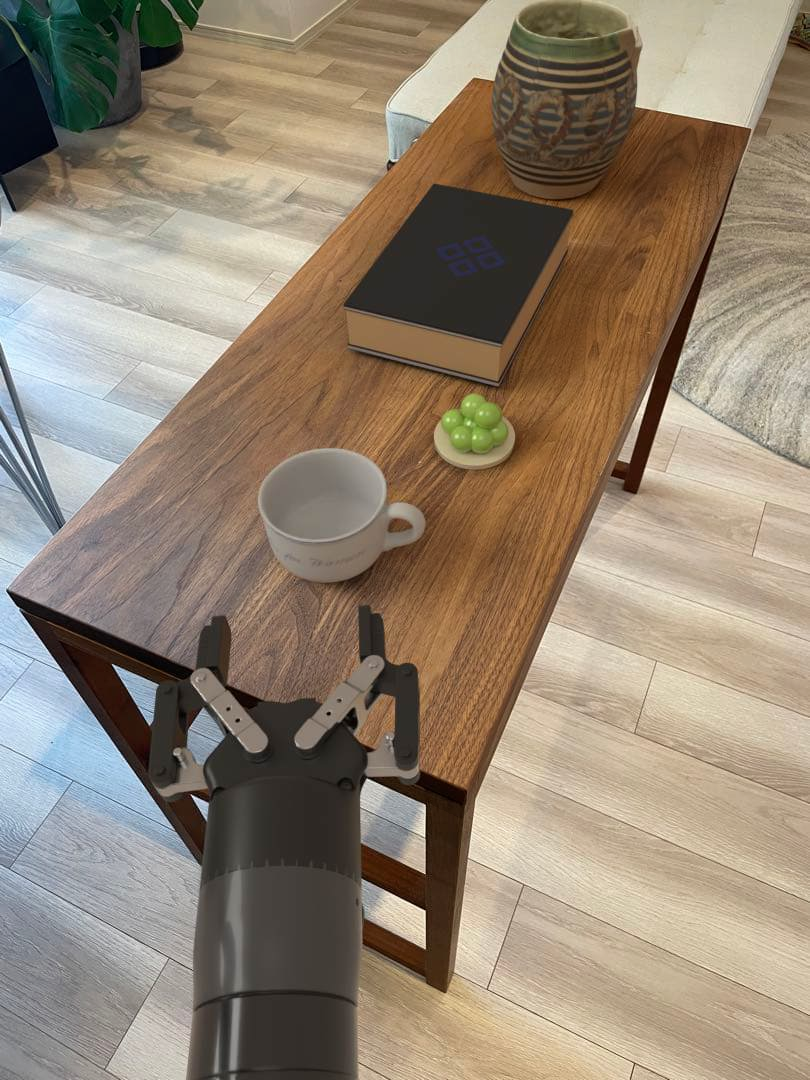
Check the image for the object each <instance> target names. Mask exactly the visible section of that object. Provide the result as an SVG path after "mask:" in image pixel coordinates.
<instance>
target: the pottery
mask: <svg viewBox="0 0 810 1080" xmlns="http://www.w3.org/2000/svg"><path fill="white" fill-rule="evenodd" d="M643 45H644V44H643V40H642V37H641V35H640V32H639V26H638V25H637V24H635V22H634V21H633V20H632V19H631V15H630V14H629V13H627V12H626V11H625V10H623V9H622V8H620V7H618V6H616V5H613V4H610V3H608V2H603V1H600V0H536V1H534V2H531V3H529V4H527V5H525V6H523V7H522V8H521V9H520V10H518V11H517V13H516V15H515V17H514V20H513V23H512V26H511V30H510V31H509V35H508V37H507V41H506V44H505V47H504V49H503V52H502V54H501V58H500V60H499V62H498V65H497V69H496V73H495V76H494V80H493V87H492V94H491V120H492V127H493V134H494V138H495V142H496V145H497V149H498V152H499V154H500V157H501V160H502V163H503V165H504V167H505V169H506V171H507V173H508V175H509V177H510V180H511V182H512V183H513V185H514V186H515V187H516V188H517V189H518V190H520V191H522V192H523V193H525V194H527V195H529V196H533V197H536V198H541V199H545V200H564V199H565V200H566V199H573V198H576V197H580V196H583V195H586V194H588V193H589V192H591V191H592V190H594V189H595V187H596V186H597V185H598V183H599V182H600V181H601V180H602V178H603V177H604V176H605V174H606V173H607V172H608V170H609V169H610V168H611V166H612V164H613V163H614V161H616V158H617V157H618V155H619V153H620V151H621V150H622V147H623V145H624V143H625V141H626V139H627V138H628V135H629V133H630V130H631V127H632V123H633V120H634V115H635V110H636V104H637V97H638V96H637V95H638V66H639V62H640V56H641V54H642V53H641V52H642V50H643Z"/></svg>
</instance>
